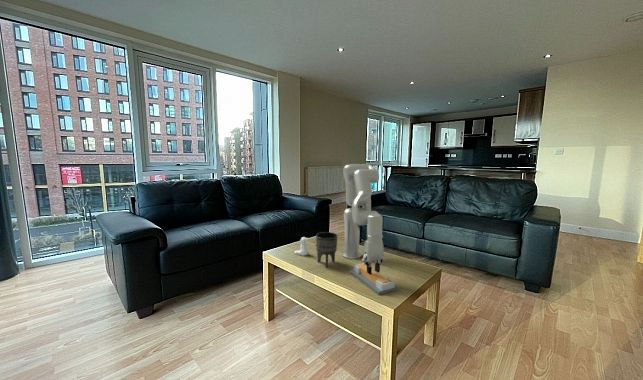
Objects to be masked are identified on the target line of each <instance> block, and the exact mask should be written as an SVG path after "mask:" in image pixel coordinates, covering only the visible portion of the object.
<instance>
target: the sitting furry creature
mask: <svg viewBox="0 0 643 380" xmlns="http://www.w3.org/2000/svg"><path fill="white" fill-rule="evenodd" d="M308 240H309V237H305V236H303V237H301V238H300V240H299V243H300V247H299V250H298V249H297V250H295V251H294V255H297V256H302V257H305V256H306V257H307V256H308V255H309V253H310V250H309V248H308V244H307V242H308Z"/></svg>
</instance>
